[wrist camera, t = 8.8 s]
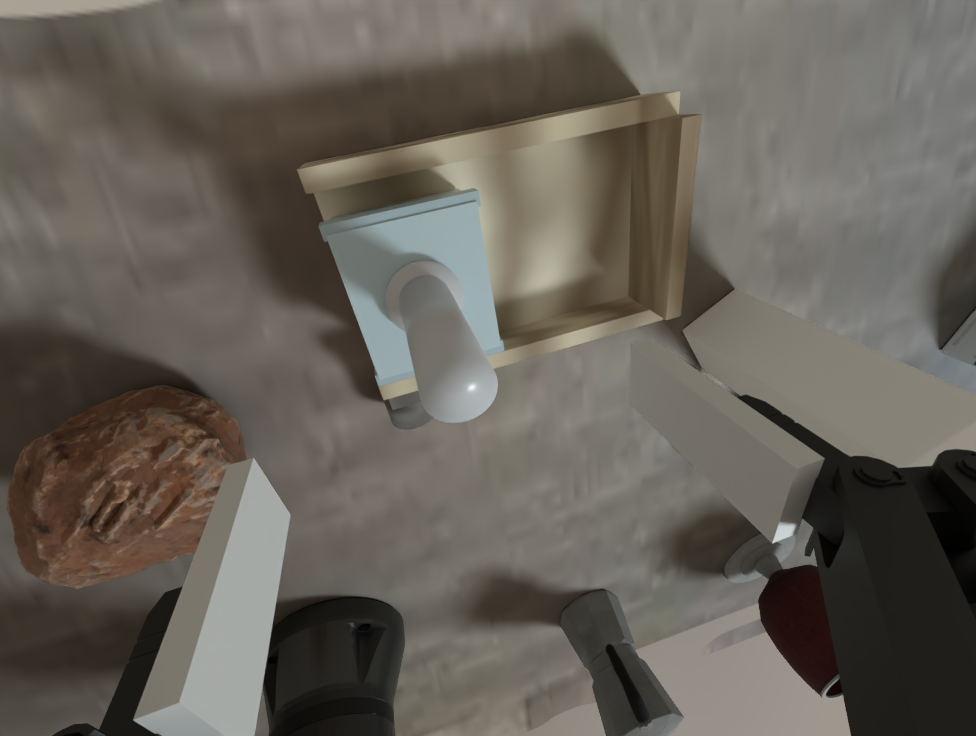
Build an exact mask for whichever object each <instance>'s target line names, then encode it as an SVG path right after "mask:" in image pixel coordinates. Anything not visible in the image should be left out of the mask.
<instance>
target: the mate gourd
mask: <svg viewBox="0 0 976 736" xmlns="http://www.w3.org/2000/svg"><path fill="white" fill-rule="evenodd" d="M794 544H795V536H794V535H792V536H790V537H787V538H785V539H782V540H780V541H778V542H775V543H773V544H772V543H771V542H770V541H769V540H768V539H767V538H766V537H765V536H764V535H763V534H762V533H761V534H759V535H757V536H755V537H753V538H752V539H750V540H749V541H747V542H746V543H744V544H743V545H742V546H741V547H739V548H738V549H737V550H736V551H735V552H734V553H733V555H732V556H731V557H730V558H729V560H728V561H727V563H726V565H725V569H724V574H725V576H726V577H727V578H728V580H729V581H731V582H732V583H744V582H748V581H752V580H754V579H757V578H759V577H761V576H765V577H766V578H768V579H769V581H768V583H767V585H766V586H765V588H764V590H763V592H762V593H761V595H760V597H759V600H758V602H759V609H760V617H761V622H762V624H763V626H764V628H765V630H766V632H767V633H768V635H769V636H770V638H771V640H772V641H773V643H774V644H775V646H776V647H777V649H778V650H779V652H780V653H781V654H782V655H783V657H784V658H785V659H786V660H787V662H788V663H789V664H790V666H791V667H792V668H793V669H794V670H795V671H796V672H797V673H798V675H799V676H801V678H802V679H803V680H804V681H805V682H806V683H807V684H808V685H809V686H810V687H811V688H812V689H814V690H815V691H816V692H817V693H818V694H819V695H820V696H821V698H822V699H823V700H833V699H836V698H839V697H843V692H842V687H841V682H840V677H839V672H838V667H837V662H836V657H835V652H834V647H833V642H832V636H831V631H830V626H829V621H828V616H827V611H826V606H825V601H824V596H823V591H822V586H821V581H820V576H819V571H818V567H816V566H813V565H803V566H799V567H794V568H789V569H783V568H782V566H781V564H780V563H781V562H782V561H783V560H784V559H785V558H786V557H787V556H788V555H789V553H790V552H791V550H792V549H793V547H794Z"/></svg>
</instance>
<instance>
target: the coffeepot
mask: <svg viewBox="0 0 976 736" xmlns="http://www.w3.org/2000/svg"><path fill="white" fill-rule="evenodd" d="M560 626H561V628H562V629H563V631H564V633H565V634H566V636H567V638H568V639H569V641H570V643H571V644H572V646H573V648H574V649H575V651H576V653H577V655H578V656H579V658H580V660H581V661H582V663H583V665H584V666H585V667H586V668H587V669H588V670H589V671H590V674H591V676H592V678H593V680H594V682H593V686H592V688H593V691H594V695H595V698H596V702H597V705H598V709H599V713H600V716H601V720H602V723H603V726H604V730H605V734H606V736H670V735H671V734H672V733H673V732H674V731H675V730H676V728H677V727H678V725H679V724H680V722H681V721H682V720H683V718H684V716H683V715H682V714H681V712H680V711H679V709H678V708H677V707H676V705H675V704H674V702H673V701H672V699H671V698H670V697H669V695H668V694H667V692H666V691H665V690H664V688H663V687H662V685H661V684H660V682H659V681H658V679H657V678H656V676H655V675H654V674H653V672H652V671H651V669H650V668H649V666H648V665H647V664H646V662H645V661H644V660H642V659H640V658H639V657H638V655H637V653H636V651H635V649H634V641H633V638H632V635H631V633H630V630H629V627H628V624H627V622H626V619H625V616H624V613H623V611H622V608H621V605H620V602H619V600H618V598H617V597H616V596H615V595H614V594H612V593H611V592H609V591H605V590H599V591H593V592H590V593H587V594H585V595H582V596H580V597H579V598H577V599H575V600H574V601H572V602H571V603H570V604H569V605H568V606H567V607H566V608H565V609H564V611H563V612H562V615H561V623H560Z"/></svg>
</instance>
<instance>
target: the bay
mask: <svg viewBox="0 0 976 736" xmlns="http://www.w3.org/2000/svg"><path fill="white" fill-rule="evenodd" d="M679 102H680V91H674V92H663V93H653V94H642V95H637V96H632V97H627V98H622V99H617V100H612V101H607V102H603V103H598V104H593V105H588V106H583V107H578V108H573V109H568V110H563V111H558V112H553V113H549V114H544V115H539V116H534V117H529V118H524V119H519V120H514V121H509V122H504V123H499V124H495V125H490V126H485V127H480V128H475V129H470V130H465V131H460V132H455V133H450V134H445V135H440V136H436V137H431V138H426V139H421V140H416V141H411V142H406V143H401V144H396V145H391V146H386V147H382V148H377V149H372V150H367V151H362V152H357V153H352V154H347V155H342V156H337V157H332V158H328V159H323V160H318V161H313V162H308V163H304V164H303V165H302V166H301V167H299V168H298V169H297V172H298V174H299V177H300V180H301V182H302V185H303V188H304V190H305V193H306V194H310V193H314V196H315V198H316V201H317V204H318V206H319V209H320V212H321V215H322V217H323V220H324V221H328V220H330V219H331V217H334V216H338V215H343V214H347V213H352V212H356V211H361V210H365V209H370V208H374V207H379V206H383V205H387V204H392V203H396V202H401V201H405V200H410V199H414V198H419V197H423V196H428V195H432V194H437V193H441V192H446V191H450V190H455V189H459V190H461V191H462V190H467V189H471V188H475V189H477V190H478V191H479V197H480V203H481V206H479V207H478V211H479V217H480V223H481V229H482V235H483V241H484V247H485V253H486V259H487V265H488V270H489V276H490V282H491V288H492V294H493V300H494V306H495V312H496V318H497V324H498V330H499V335H500V337H501V338H502V340H503V344H504V350H505V351H502V352H499V353H495V354H492V355H488V356H486V357H487V359H488V361H489V362H490V364H491V366H492V368H493V369H494V368H498V367H501V366H505V365H508V364H512V363H515V362H519V361H522V360H525V359H529V358H532V357H536V356H539V355H543V354H546V353H550V352H553V351H557V350H560V349H564V348H567V347H571V346H574V345H577V344H581V343H584V342H588V341H591V340H595V339H598V338H602V337H605V336H609V335H612V334H616V333H619V332H623V331H626V330H629V329H633V328H636V327H640V326H643V325H647V324H650V323H654V322H657V321H661V320H663V319H665V320H669V319H673V318H676V317H679V316H681V310H682V300H683V291H684V281H685V271H686V261H687V252H688V242H689V232H690V222H691V213H692V203H693V193H694V183H695V174H696V164H697V154H698V144H699V134H700V125H701V115H702V114H688V115H679ZM379 389H380V392H381V394H382V397H383V400H384V402H385V405H386V408H387V410H388V413H389V416H390V418H391V421H392V423H393V425H394V426H395V427H397V428H400V429H414V428H417V427H420V426H422V425H424V424H426V423H427V422H429V421H430V420H431V419H432V418H433V417H432V416H431V415H429V414H428V413H427V412H426V410H425V409H424V407H423V405H422V403H421V399H420V395H419V390H418V386H417V382H416V377H415V376H414V377H410V378H407V379H403V380H400V381H396V382H393V383H389V384H386V385H382V386H379Z"/></svg>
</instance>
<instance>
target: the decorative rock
mask: <svg viewBox="0 0 976 736" xmlns="http://www.w3.org/2000/svg"><path fill="white" fill-rule="evenodd" d="M244 460H247V458H246V454H245V448H244V442H243V437H242V434H241V431H240V427H239V424H238V421H237V420H236V419H234V418H232V417H231V416H230V415H228V414H227V412H226V411H225V410H224V409H223V407H222V406H221V405H219V404H218V403H216V402H215V401H214V400H213V399H210V398H206V397H202V396H200V395H198V394H195V393H192V392H189V391H186V390H182V389H178V388H175V387H171V386H167V385H156V386H153V387H150V388H145V389H138V390H133V391H128V392H126V393H124V394H122V395H120V396H119V397H116V398H112V399H109V400H107V401H105V402H103V403H101V404H99V405H96V406H92V407H90V408H89V409H88V410H87V411H84V412H82V413H80V414H78V415H75V416H73V417H71V418H70V419H68V420H67V421H66V422H64V423H63V424H62V425H60V426H59V427H57V428H55V429H53V430H52V431H50V432H49V433H48V434H46V435H44V436H41V437H38V438H36V439H35V440H33V441H32V442H31V443H29V444H27V445H26V446H25V447H24V448H23V450H22V452H21V453H20V456H19V458H18V459H17V462H16V464H15V466H14V473H13V478H12V481H11V483H10V485H9V490H8V495H7V510H8V513H9V515H10V517H11V521H12V525H13V528H14V540H15V544H16V546H17V553H18V555H19V557H20V559H21V564H22V566H23V567H24V569H25V571H26V572H28V573H30V574H32V575H34V576H36V577H37V578H39V579H41V580H42V581H44V582H46V583H48V584H51V585H63V586H69V587H71V588H74V589H76V590H77V589H80V588H83V587H87V586H91V585H94V584H98V583H101V582H104V581H108V580H112V579H116V578H121V577H126V576H129V575H132V574H135V573H138V572H140V571H142V570H144V569H146V568H148V567H149V566H151V565H153V564H156V563H161V562H170V561H172V560H173V559H175V558H177V557H178V556H181V555H187V554H193V553H196V550H197V547H198V545H199V542H200V539H201V537H202V534H203V531H204V529H205V526H206V523H207V521H208V518H209V515H210V513H211V510H212V507H213V505H214V502H215V499H216V497H217V494H218V491H219V489H220V486H221V483H222V481H223V478H224V475H225V473H226V470H227V467H228V465H231V464H235V463H238V462H241V461H244Z"/></svg>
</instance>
